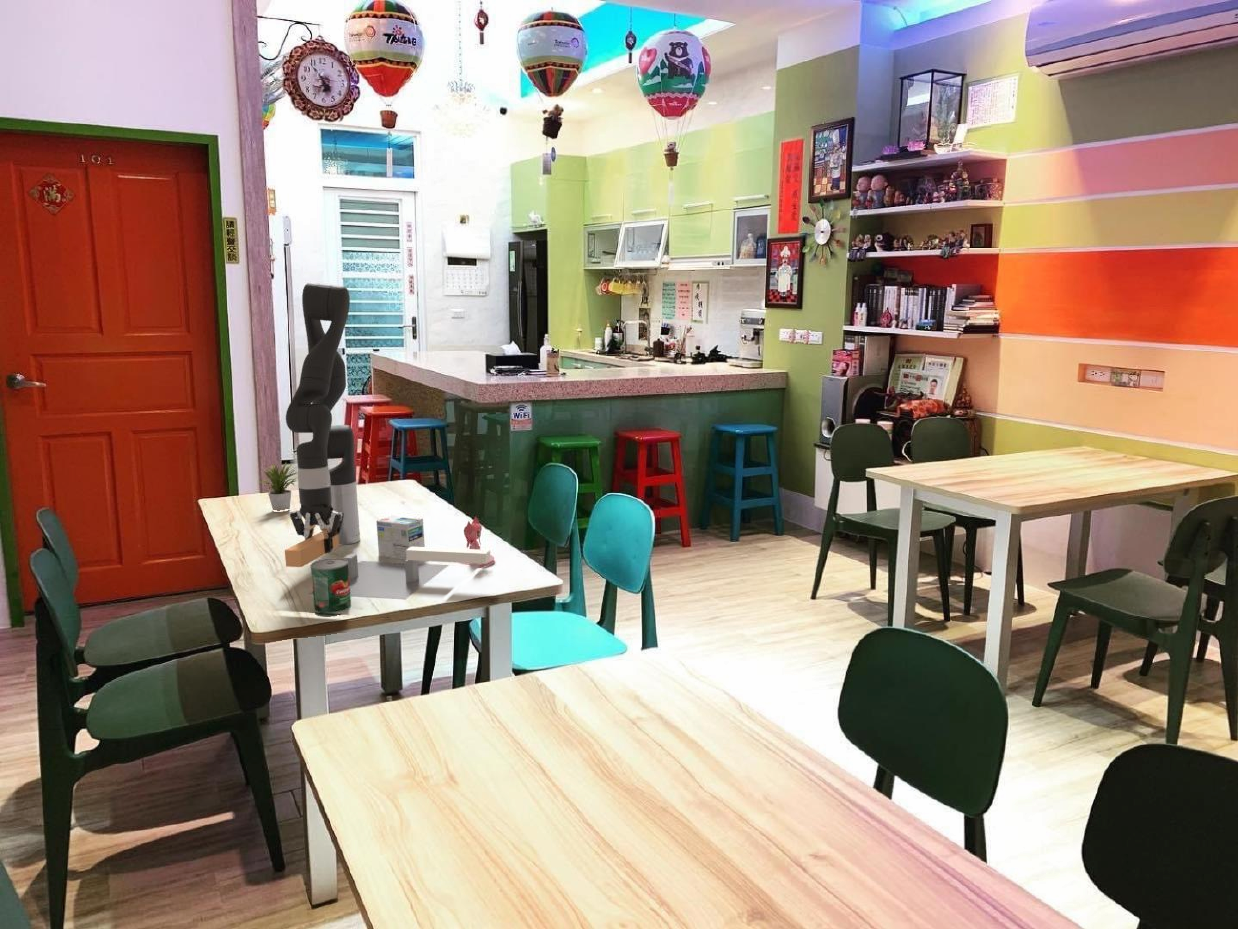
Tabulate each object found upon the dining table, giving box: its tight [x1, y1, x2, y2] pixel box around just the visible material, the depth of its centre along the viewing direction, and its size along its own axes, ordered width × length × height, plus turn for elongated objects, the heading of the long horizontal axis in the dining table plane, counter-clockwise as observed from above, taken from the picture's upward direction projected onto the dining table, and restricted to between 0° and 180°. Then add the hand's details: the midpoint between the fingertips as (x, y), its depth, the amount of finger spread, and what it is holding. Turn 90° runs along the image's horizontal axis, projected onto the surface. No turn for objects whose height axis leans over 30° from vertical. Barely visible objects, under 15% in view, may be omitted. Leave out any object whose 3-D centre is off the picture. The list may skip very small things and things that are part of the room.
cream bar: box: [406, 546, 491, 565], centre depth 213 cm, size 20×3×2 cm, turn 79°
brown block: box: [284, 531, 340, 568], centre depth 220 cm, size 4×18×4 cm, turn 169°
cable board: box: [308, 553, 449, 600], centre depth 217 cm, size 24×26×6 cm
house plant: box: [259, 461, 298, 511], centre depth 290 cm, size 14×14×16 cm
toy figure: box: [459, 516, 495, 569], centre depth 232 cm, size 10×10×12 cm
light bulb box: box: [376, 515, 426, 560], centre depth 237 cm, size 11×7×11 cm, turn 65°
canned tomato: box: [310, 557, 352, 618], centre depth 198 cm, size 8×8×11 cm
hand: (319, 551), depth 223 cm, fingers closed on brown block, 4 cm apart
